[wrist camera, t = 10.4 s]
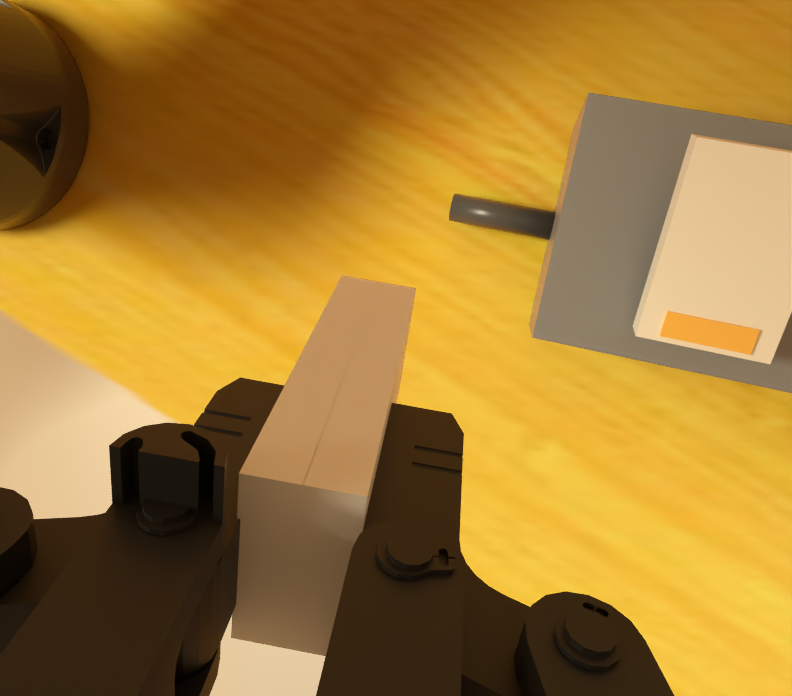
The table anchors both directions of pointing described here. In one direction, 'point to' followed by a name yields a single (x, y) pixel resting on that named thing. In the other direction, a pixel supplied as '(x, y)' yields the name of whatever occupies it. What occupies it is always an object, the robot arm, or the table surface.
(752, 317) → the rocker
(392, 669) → the robot arm
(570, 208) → the rocker switch box
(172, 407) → the table surface
